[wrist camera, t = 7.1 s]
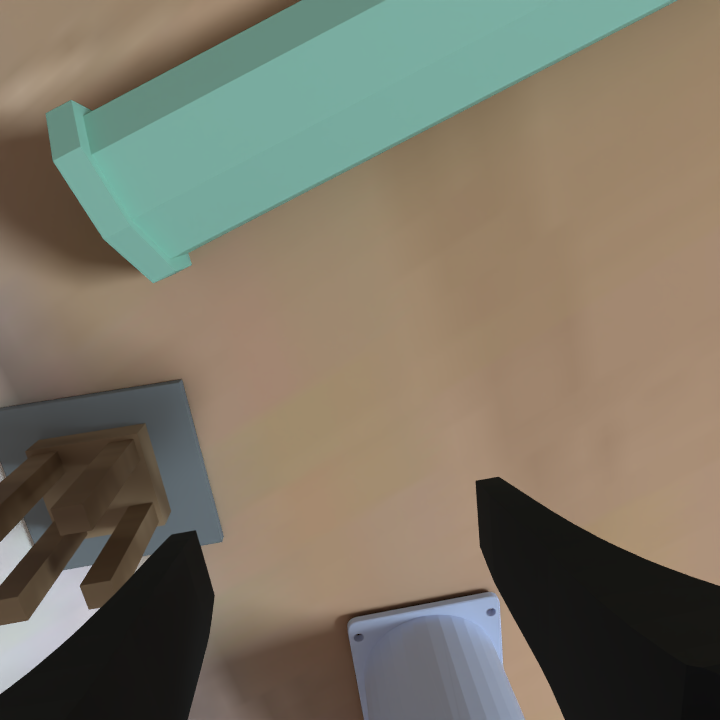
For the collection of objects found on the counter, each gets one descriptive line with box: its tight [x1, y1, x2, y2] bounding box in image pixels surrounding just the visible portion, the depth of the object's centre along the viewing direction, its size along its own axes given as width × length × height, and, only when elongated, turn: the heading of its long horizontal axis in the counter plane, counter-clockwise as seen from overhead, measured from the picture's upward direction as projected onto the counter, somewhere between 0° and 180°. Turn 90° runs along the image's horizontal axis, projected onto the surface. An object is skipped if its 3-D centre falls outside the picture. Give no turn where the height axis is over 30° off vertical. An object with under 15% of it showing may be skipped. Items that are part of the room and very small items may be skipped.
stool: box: [0, 423, 171, 625], centre depth 18 cm, size 4×4×6 cm
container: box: [46, 0, 677, 283], centre depth 15 cm, size 6×6×25 cm
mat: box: [0, 379, 224, 570], centre depth 21 cm, size 8×8×1 cm
